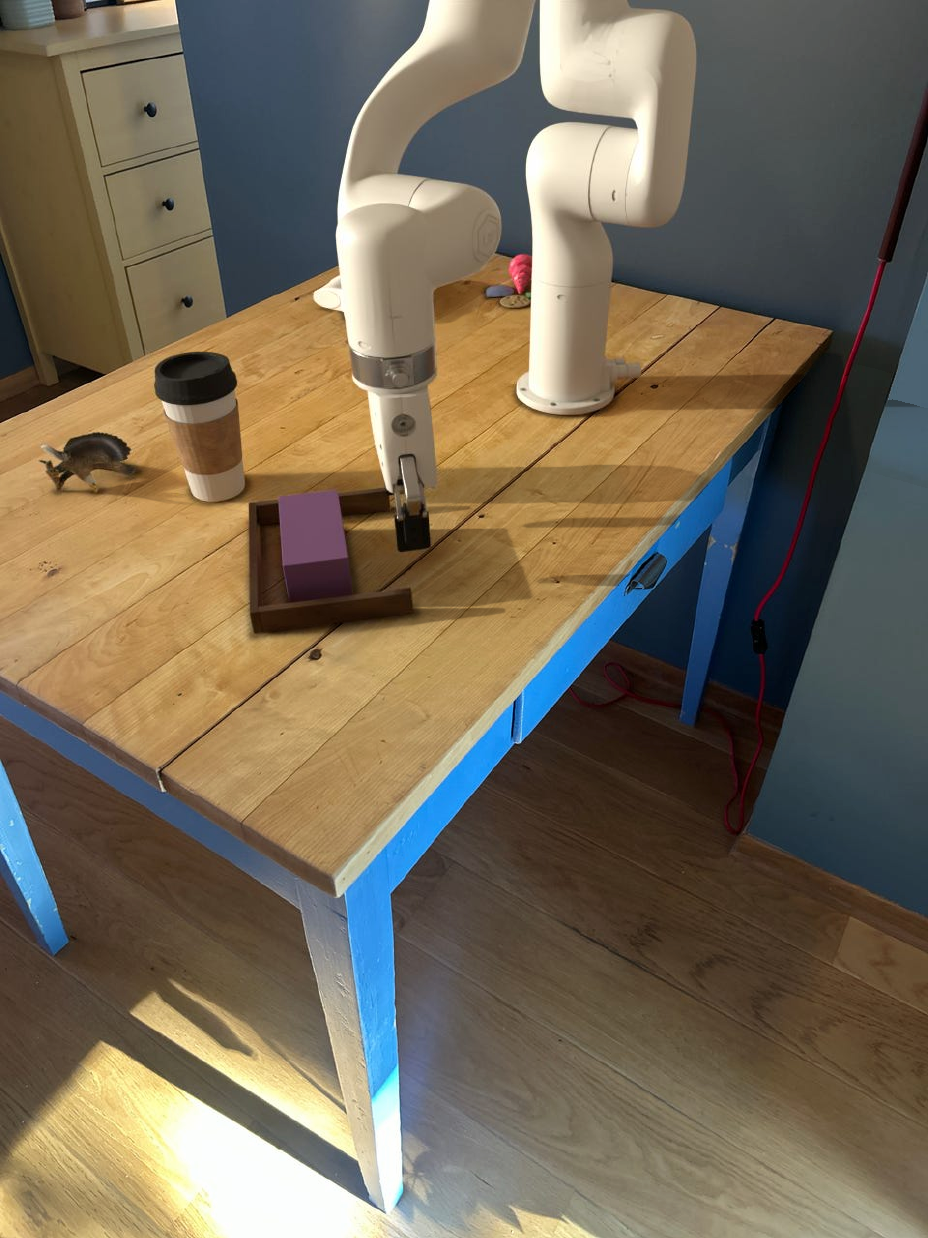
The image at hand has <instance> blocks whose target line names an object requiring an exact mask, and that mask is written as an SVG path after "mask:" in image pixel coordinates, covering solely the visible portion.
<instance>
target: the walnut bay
mask: <svg viewBox="0 0 928 1238" xmlns="http://www.w3.org/2000/svg"><path fill="white" fill-rule="evenodd" d="M338 495H339V502H340V508H341V514H342V516H349V515H360V514H367V513H368V514H369V513H376V512H385V511H390V510H391V496H389V495H387V494H386V492H385V486H384V487H377V488H368V489H367V488H366V489H360V490H359V489H357V490H350V491H349V490H348V491H341V492H340V491H339V492H338ZM272 524H280V514H279V498H278V499H269V500H260V501H252V502H251V501H250V502H248V580H249V581H248V583H249V584H248V586H249V591H248V594H249V597H248V598H249V599H248V600H249V617H250V622H251V627H252V631H253V634H261V633H270V632H279V631H286V630H293V629H301V628H308V627H316V626H324V625H332V624H340V623H347V622H348V623H349V622H354V621H363V620H370V619H379V618H385V617H394V616H395V617H396V616H402V615H410V614H414V604H413V603H414V602H413V592H412V588H411V587H405V588H398V589H396V588H395V589H388V590H381V591H371V592H365V593H357V594H353V595H348V596H340V597H332V598H324V599H316V600H309V601H301V602H293V603H290V602H286V603H279V604H278V603H277V604H270V605H263V596H262V595H263V594H262V592H263V591H262V559H261V558H262V556H261V555H262V554H261V550H262V549H261V526H262V525H272Z"/></svg>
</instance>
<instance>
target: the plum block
mask: <svg viewBox="0 0 928 1238" xmlns="http://www.w3.org/2000/svg"><path fill="white" fill-rule="evenodd" d="M338 493H339V490H338V489H328V490H321V491H311V492H304V493H303V492H302V493H296V494H294V493H293V494H286V495H279V496H277V497H278V499H279V514H280V523H279V525H280V526H279V528H280V543H281V556H282V557H281V558H282V568H283V569H282V570H283V574H284V580H285V584H286V590H287V596H288V603H293V602H301V601H309V600H316V599H324V598H332V597H340V596H348V595H354V593H353V585H352V576H351V567H350V560H349V553H348V546H347V540H346V534H345V527H344V521H343V515H342V514H341V508H340V502H339V495H338Z"/></svg>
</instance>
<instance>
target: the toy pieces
mask: <svg viewBox="0 0 928 1238" xmlns="http://www.w3.org/2000/svg"><path fill="white" fill-rule="evenodd" d="M508 271H509V274H510V277H511V279H512V282H513V284H514V285H515V288H516V291H517V292H518V294H515V290H514V289H513V288H512V287H511V286H510V285H504V284H503V285H500V284H497V285H491V286H490V287H488V288H487V289H486V291H485V293H486V297H487V298H499V297H502V298H500V301H499V303H500V304H501V306H503V307H505V308H508V309H516V308H517V309H522V308H525V307H527V306H529V305H531V292H528V291H527V292H525V295H521V294H522V293H523V292H524V290H525V289H526V287H527V286H528V283H529V282H530V280H532V255H531V254H527V253H521V254H518V255H516V256H515V257H513V258H512V259H511V261H510V262H509V268H508Z"/></svg>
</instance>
